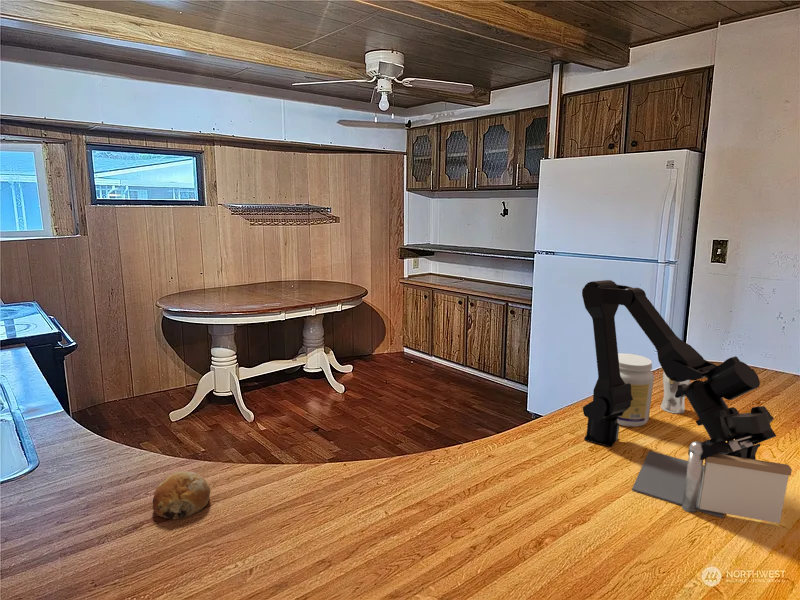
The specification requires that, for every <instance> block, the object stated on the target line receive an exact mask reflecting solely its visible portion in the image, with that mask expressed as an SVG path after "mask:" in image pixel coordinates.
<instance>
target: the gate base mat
mask: <svg viewBox="0 0 800 600" xmlns="http://www.w3.org/2000/svg"><path fill="white" fill-rule="evenodd" d="M642 463H643V464H642V465H641V468H640V470H639V473H638V474H637V477H636V479H635V481H634V484H633V486H632V489H631V491H632V492H637V493H639V494H641V495H646V496H648V497H652V498H655V499H659V500H662V501H665V502H668V503H671V504H675V505H678V506H681V507H682V501H683V494H684V487H685V480H686V473H687V466H688V460H686V459H681V458H678V457H674V456H670V455H667V454H663V453H658V452H656V451H652V450H648V452H647V455H646V457H645V459H644V462H642ZM704 465H705V464H703V466H702V473H701V479H700V486H699V493H698V499H697V506H696V511H697V512H701V513H704V514H707V515H711V516H714V517H717V518H720V519H724V516H725V513H720V512H714V511H709V510H704V509H700V508H699V498H700V492H701V485H702V479H703V472H704Z"/></svg>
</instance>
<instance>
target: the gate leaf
mask: <svg viewBox="0 0 800 600" xmlns="http://www.w3.org/2000/svg"><path fill="white" fill-rule="evenodd" d="M703 465H704V472H703V479H702V485H701V492H700V498H699V508H700V509H704V510H709V511H714V512H720V513H724V515H725V514H726V515H731V516H738V517H741V518H742V517H743V518H748V519H754V520H760V521H764V522H769V523H775V524H781V519H782V518H781V517H782V514H783V513H782V512H783V506H784V503H785V497H786V492H787V486H788V480H789V476H792V471H793V469H792V467H791V466H790V465H789V464H786V463H779V462H772V461H766V460H759V459H756V460H754V459H748V458H741V457H735V456H728V455H722V454H715V455H713V456H710V457H708V458H705V459H704V464H703Z"/></svg>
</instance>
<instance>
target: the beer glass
mask: <svg viewBox="0 0 800 600" xmlns="http://www.w3.org/2000/svg"><path fill="white" fill-rule="evenodd" d="M662 371H663V370H662ZM691 381H692V380H687V381H683V382H676V381H672V380H670V379H669V378H668V377H667V376H666V374H665V373H664V371H663V372H662V384H663V398H662V401H661V404H660V408H661V409H662V411H665V412H667V413H669V414H670V413H671V414H678V415H679V414H684V413H685V412H686V411H685V410H686V409H685V408H686V406H685V400H686V396H685V397H680V398H676V397H675V394H676V391H677V389H678V385H680V384H686V385H688V384H690V383H691Z"/></svg>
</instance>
